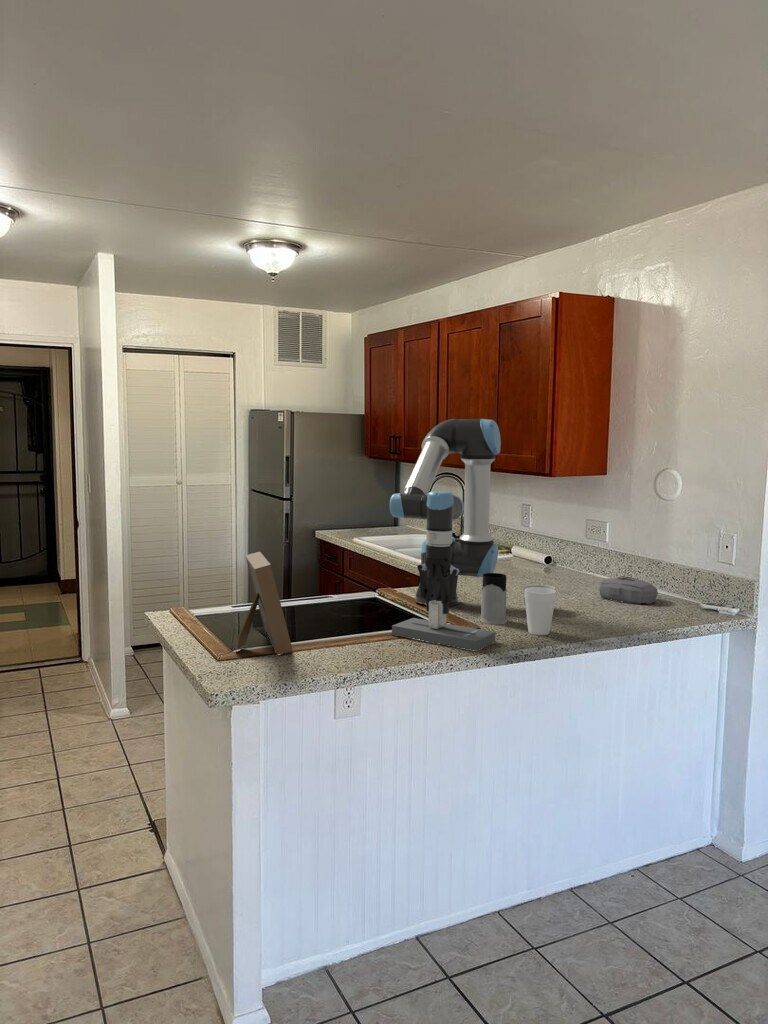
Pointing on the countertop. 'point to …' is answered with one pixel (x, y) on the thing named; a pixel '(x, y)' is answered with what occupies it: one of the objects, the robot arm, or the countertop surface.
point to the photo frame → (265, 605)
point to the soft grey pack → (628, 590)
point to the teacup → (538, 586)
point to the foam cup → (539, 609)
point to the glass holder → (493, 598)
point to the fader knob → (435, 615)
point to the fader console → (445, 634)
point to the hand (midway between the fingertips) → (437, 623)
